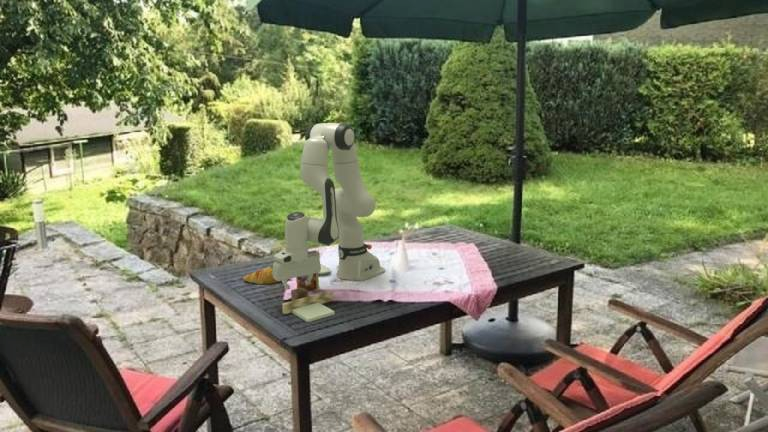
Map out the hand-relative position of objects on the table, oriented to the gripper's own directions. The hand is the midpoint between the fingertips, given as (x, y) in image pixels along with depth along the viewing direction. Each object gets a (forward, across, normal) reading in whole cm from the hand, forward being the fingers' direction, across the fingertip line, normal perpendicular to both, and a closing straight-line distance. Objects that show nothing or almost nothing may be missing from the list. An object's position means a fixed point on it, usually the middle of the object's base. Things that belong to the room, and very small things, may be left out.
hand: (297, 286), depth 258 cm
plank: (+7, -1, +6) cm, 9 cm away
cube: (+7, -1, 0) cm, 7 cm away
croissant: (+7, -2, -31) cm, 32 cm away
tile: (+7, +1, +13) cm, 15 cm away
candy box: (+7, -11, -11) cm, 17 cm away
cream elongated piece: (+6, -30, -35) cm, 46 cm away
